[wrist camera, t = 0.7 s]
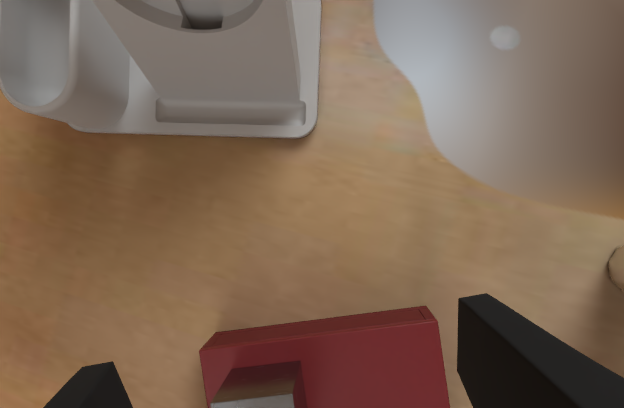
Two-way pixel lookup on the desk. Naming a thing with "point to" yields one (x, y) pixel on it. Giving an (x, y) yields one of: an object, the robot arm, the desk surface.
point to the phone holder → (165, 65)
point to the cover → (348, 365)
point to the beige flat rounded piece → (617, 267)
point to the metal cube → (263, 387)
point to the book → (320, 326)
